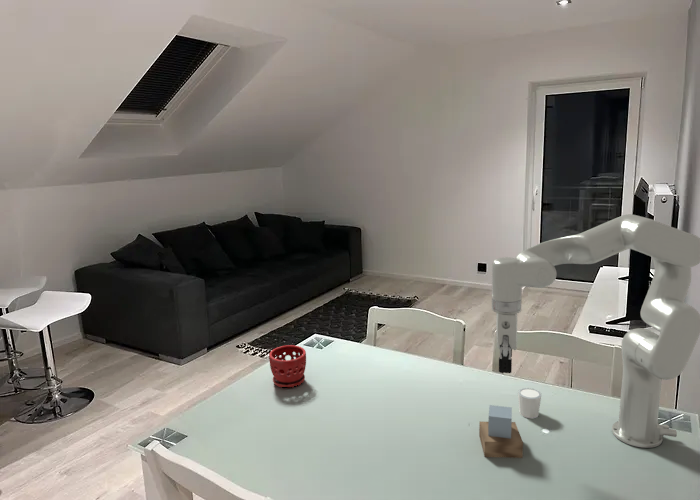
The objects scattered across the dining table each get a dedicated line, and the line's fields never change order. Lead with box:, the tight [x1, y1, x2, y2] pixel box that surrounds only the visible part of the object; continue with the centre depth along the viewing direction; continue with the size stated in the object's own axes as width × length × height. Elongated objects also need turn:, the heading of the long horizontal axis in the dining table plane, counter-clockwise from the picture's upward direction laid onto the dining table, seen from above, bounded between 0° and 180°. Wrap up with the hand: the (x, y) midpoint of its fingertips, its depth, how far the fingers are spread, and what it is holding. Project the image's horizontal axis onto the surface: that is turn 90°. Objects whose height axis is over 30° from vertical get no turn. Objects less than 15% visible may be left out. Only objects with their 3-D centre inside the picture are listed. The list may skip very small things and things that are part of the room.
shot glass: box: [517, 387, 542, 419], centre depth 161 cm, size 7×7×7 cm
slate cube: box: [487, 404, 513, 439], centre depth 144 cm, size 6×6×6 cm
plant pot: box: [268, 344, 307, 388], centre depth 186 cm, size 13×13×12 cm
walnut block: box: [478, 421, 524, 459], centre depth 145 cm, size 10×10×5 cm
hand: (505, 364), depth 141 cm, fingers open, 9 cm apart
